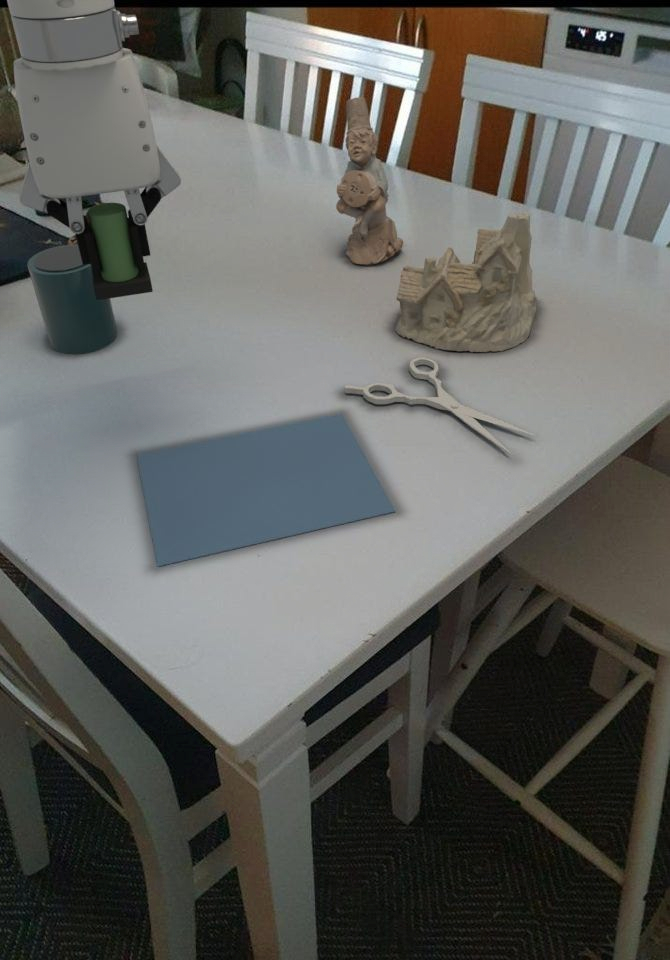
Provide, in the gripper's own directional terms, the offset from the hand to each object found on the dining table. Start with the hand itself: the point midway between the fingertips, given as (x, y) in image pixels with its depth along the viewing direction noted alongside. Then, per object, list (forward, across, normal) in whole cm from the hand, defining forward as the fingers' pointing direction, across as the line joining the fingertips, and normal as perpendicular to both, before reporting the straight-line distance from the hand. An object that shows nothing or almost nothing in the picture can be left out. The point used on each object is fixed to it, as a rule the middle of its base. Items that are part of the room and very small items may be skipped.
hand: (118, 265), depth 72 cm
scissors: (+17, -30, +8) cm, 35 cm away
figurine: (+17, -34, -32) cm, 49 cm away
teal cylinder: (+17, +6, -21) cm, 28 cm away
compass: (+17, +4, -47) cm, 50 cm away
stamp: (+2, 0, 0) cm, 2 cm away
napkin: (+17, -9, +13) cm, 23 cm away
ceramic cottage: (+17, -39, -10) cm, 44 cm away
